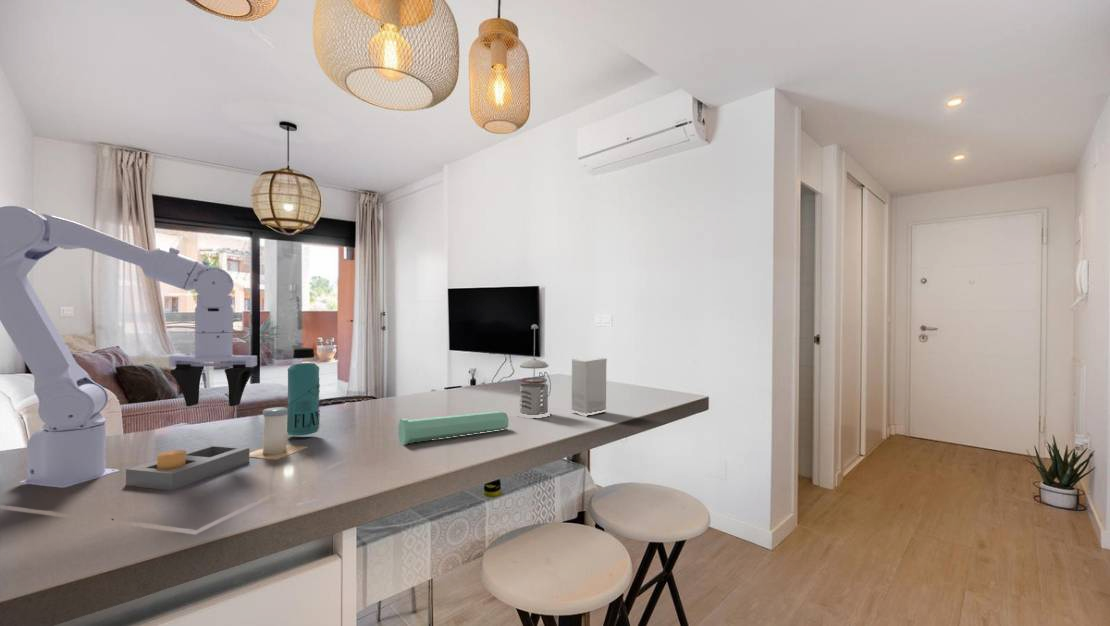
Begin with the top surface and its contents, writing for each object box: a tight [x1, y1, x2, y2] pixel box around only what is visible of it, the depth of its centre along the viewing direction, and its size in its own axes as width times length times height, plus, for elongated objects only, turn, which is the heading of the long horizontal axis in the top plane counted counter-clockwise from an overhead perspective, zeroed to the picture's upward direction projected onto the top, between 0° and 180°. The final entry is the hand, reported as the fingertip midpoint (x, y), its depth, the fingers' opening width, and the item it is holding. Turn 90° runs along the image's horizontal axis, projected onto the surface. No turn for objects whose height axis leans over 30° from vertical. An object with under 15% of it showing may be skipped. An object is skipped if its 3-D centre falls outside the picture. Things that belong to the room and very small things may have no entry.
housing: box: [125, 444, 250, 491], centre depth 79 cm, size 9×14×3 cm, turn 168°
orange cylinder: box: [156, 449, 187, 470], centre depth 76 cm, size 4×4×4 cm
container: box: [397, 410, 509, 446], centre depth 106 cm, size 6×6×25 cm
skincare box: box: [571, 356, 608, 414], centre depth 131 cm, size 8×7×16 cm
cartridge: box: [262, 406, 288, 455], centre depth 91 cm, size 4×4×8 cm
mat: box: [249, 444, 308, 461], centre depth 91 cm, size 8×8×1 cm
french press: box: [519, 323, 552, 415], centre depth 128 cm, size 10×12×25 cm
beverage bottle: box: [286, 347, 321, 436], centre depth 102 cm, size 6×7×20 cm
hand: (213, 405), depth 87 cm, fingers open, 7 cm apart
